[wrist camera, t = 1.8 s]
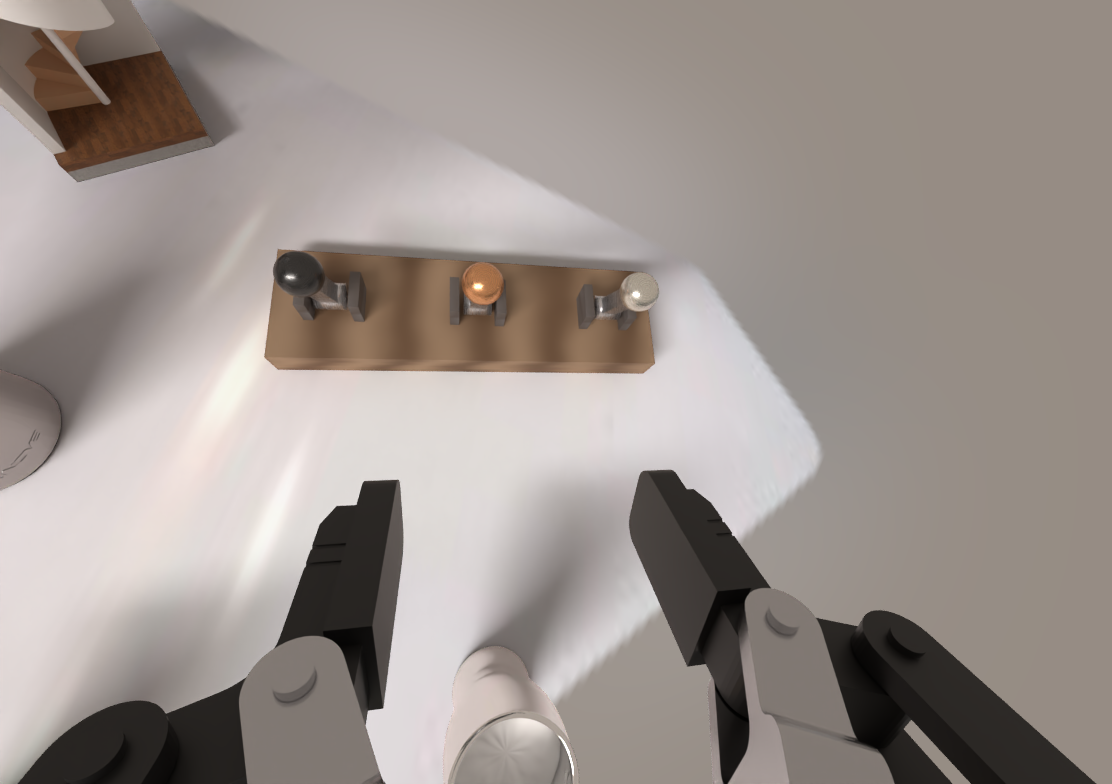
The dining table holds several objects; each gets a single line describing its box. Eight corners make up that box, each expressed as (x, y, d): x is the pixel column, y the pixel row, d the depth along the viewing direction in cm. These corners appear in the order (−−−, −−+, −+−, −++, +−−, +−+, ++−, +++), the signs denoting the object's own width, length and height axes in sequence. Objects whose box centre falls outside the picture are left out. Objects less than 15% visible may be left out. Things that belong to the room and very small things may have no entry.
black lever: (316, 315, 39) (265, 291, 28) (315, 279, 39) (265, 243, 28) (354, 316, 39) (317, 294, 29) (353, 281, 39) (317, 246, 29)
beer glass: (481, 621, 37) (498, 677, 23) (551, 670, 37) (608, 755, 23) (427, 707, 35) (408, 826, 21) (501, 759, 35) (532, 914, 21)
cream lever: (587, 324, 44) (627, 307, 34) (587, 293, 44) (628, 266, 33) (616, 325, 45) (665, 309, 34) (616, 294, 44) (665, 269, 34)
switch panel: (277, 369, 40) (249, 343, 34) (289, 267, 42) (265, 229, 37) (642, 373, 47) (667, 352, 42) (632, 286, 50) (654, 256, 44)
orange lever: (460, 320, 41) (461, 300, 31) (460, 287, 41) (461, 256, 31) (493, 321, 42) (505, 302, 32) (493, 288, 42) (506, 258, 32)
